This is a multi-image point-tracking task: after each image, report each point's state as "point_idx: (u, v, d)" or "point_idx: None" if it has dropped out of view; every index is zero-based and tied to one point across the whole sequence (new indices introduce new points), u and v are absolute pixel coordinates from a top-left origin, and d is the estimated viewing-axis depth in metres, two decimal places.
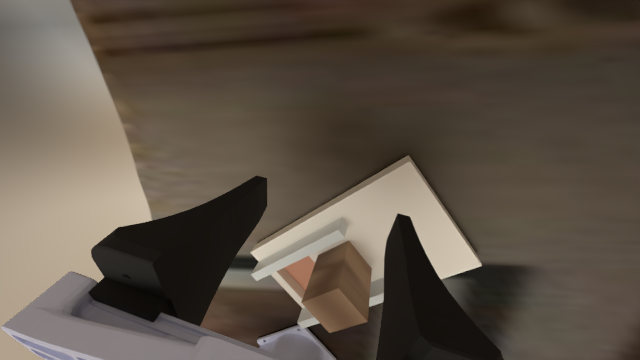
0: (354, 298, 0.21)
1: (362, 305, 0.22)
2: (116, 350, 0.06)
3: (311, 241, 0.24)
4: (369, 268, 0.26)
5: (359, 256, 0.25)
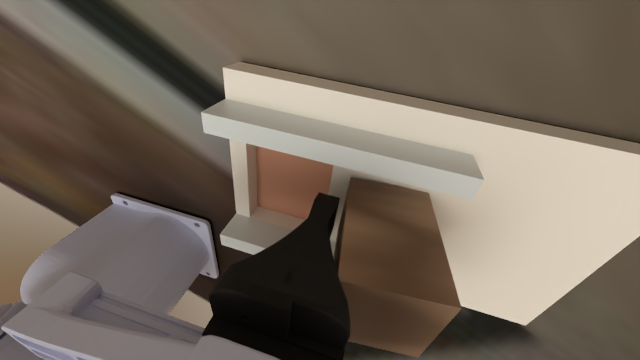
0: None
1: None
2: (116, 350, 0.06)
3: (397, 155, 0.10)
4: None
5: None
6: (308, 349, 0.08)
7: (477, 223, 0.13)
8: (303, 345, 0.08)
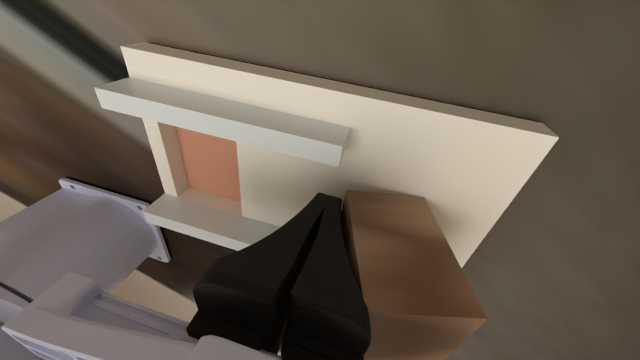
0: None
1: None
2: (116, 350, 0.06)
3: (270, 125, 0.11)
4: None
5: None
6: (327, 356, 0.08)
7: None
8: (321, 352, 0.08)
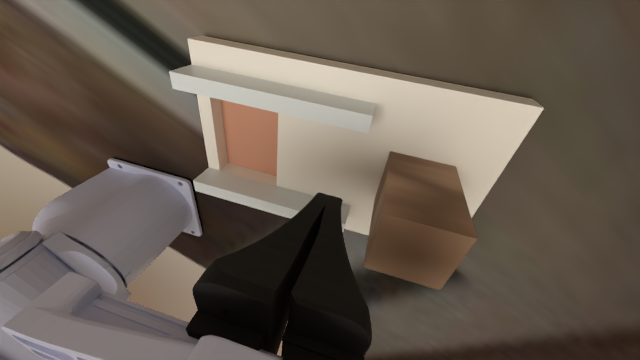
0: None
1: None
2: (116, 350, 0.06)
3: (313, 100, 0.14)
4: None
5: None
6: (327, 356, 0.07)
7: None
8: (321, 352, 0.08)
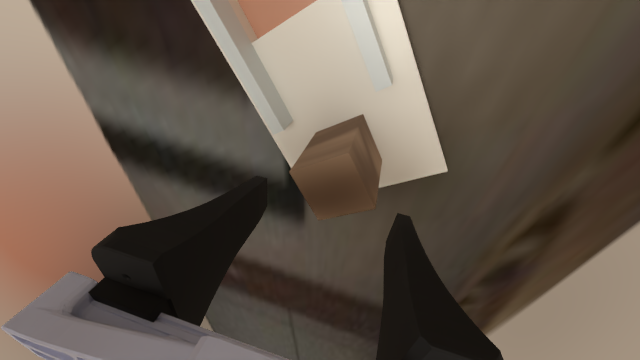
0: None
1: None
2: (116, 350, 0.06)
3: (372, 26, 0.14)
4: None
5: None
6: None
7: None
8: None
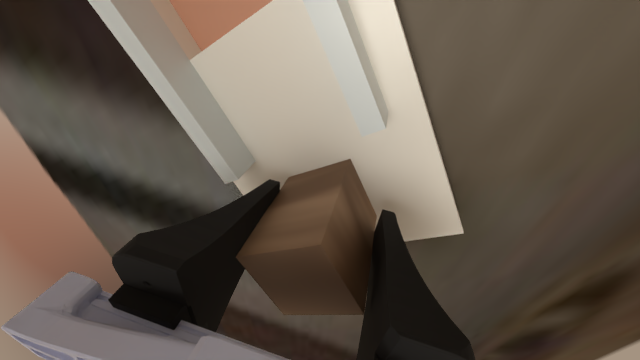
0: None
1: None
2: (116, 350, 0.06)
3: (354, 41, 0.09)
4: None
5: None
6: None
7: None
8: None
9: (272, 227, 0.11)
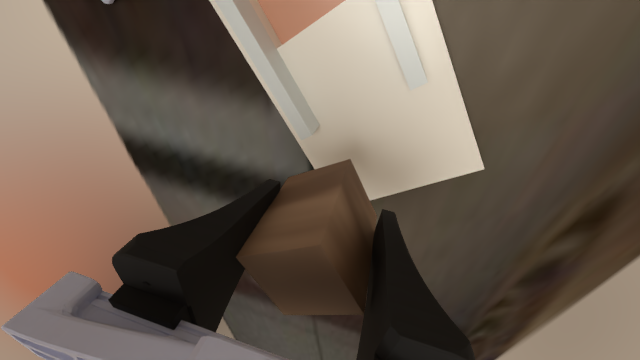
0: None
1: None
2: (116, 350, 0.06)
3: (406, 23, 0.14)
4: None
5: None
6: None
7: (383, 122, 0.19)
8: None
9: (272, 227, 0.11)
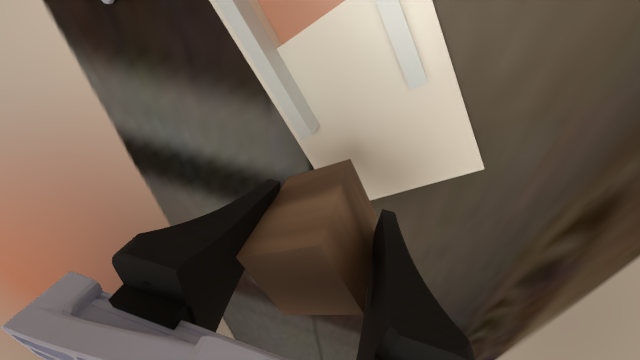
0: None
1: None
2: (116, 350, 0.06)
3: (406, 23, 0.14)
4: None
5: None
6: None
7: (383, 122, 0.19)
8: None
9: (272, 227, 0.11)
